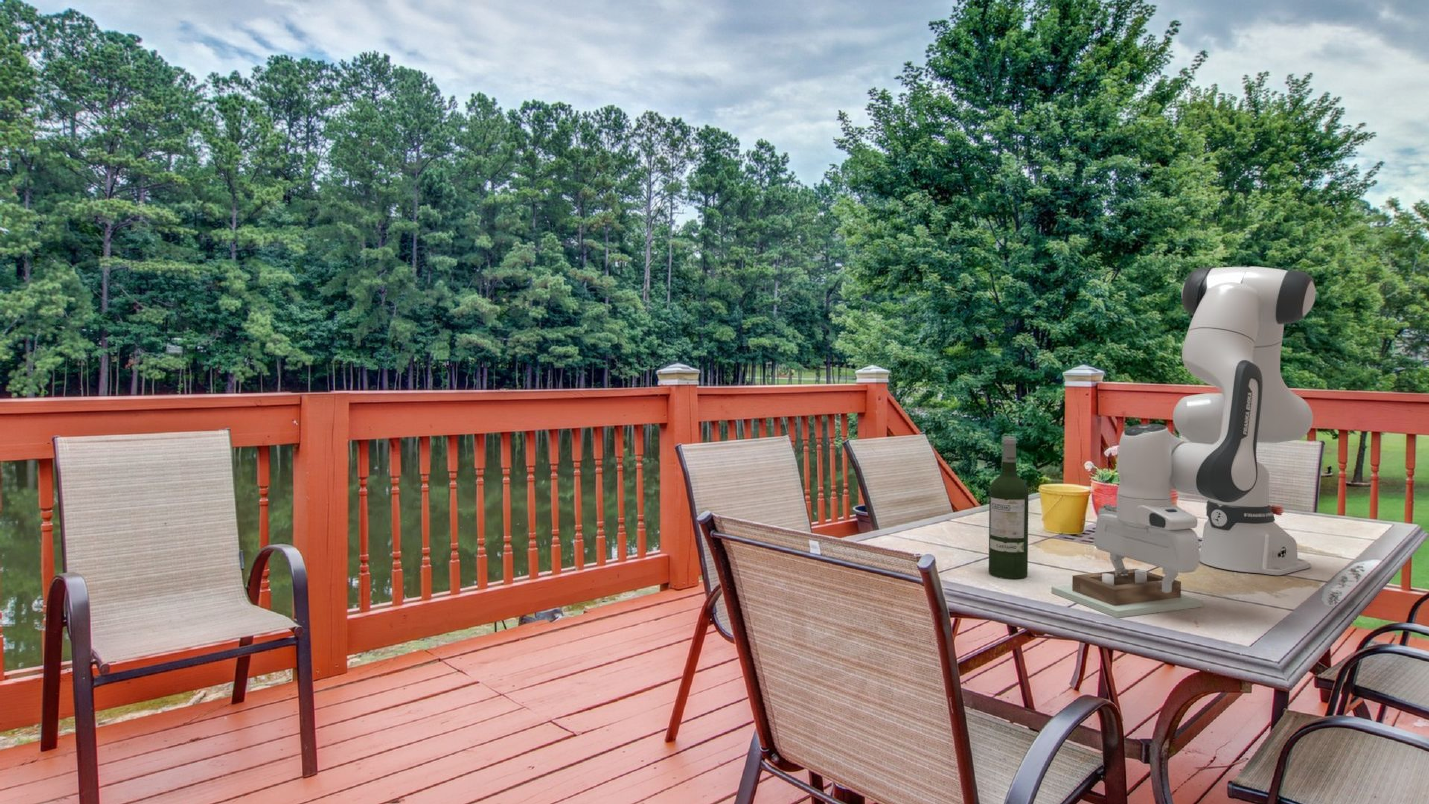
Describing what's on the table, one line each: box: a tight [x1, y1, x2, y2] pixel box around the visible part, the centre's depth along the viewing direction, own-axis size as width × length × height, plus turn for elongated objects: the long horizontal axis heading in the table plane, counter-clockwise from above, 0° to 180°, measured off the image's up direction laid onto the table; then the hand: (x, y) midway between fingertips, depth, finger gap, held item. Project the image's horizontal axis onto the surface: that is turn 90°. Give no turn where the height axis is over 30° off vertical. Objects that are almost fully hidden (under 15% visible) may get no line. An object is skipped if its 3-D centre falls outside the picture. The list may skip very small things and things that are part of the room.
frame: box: [1071, 568, 1182, 606], centre depth 142 cm, size 16×10×3 cm, turn 108°
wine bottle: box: [988, 436, 1029, 580], centre depth 160 cm, size 8×8×30 cm
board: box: [1051, 569, 1203, 619], centre depth 143 cm, size 20×16×5 cm
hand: (1142, 584), depth 139 cm, fingers open, 8 cm apart
